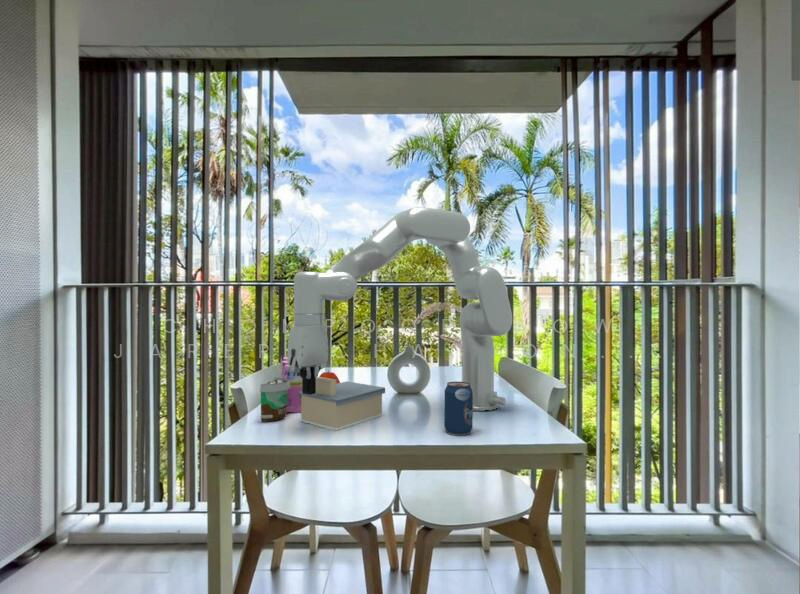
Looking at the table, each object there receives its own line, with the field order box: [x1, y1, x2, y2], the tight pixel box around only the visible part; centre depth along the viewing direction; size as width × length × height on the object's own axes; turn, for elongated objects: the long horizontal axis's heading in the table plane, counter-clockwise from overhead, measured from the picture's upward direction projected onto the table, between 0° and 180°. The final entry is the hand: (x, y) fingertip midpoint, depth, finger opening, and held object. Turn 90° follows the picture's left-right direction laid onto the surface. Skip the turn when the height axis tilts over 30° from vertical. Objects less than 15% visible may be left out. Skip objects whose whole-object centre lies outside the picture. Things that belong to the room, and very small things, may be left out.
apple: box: [318, 369, 341, 384], centre depth 139 cm, size 8×8×11 cm
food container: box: [259, 376, 291, 422], centre depth 125 cm, size 12×6×10 cm, turn 178°
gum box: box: [280, 354, 302, 413], centre depth 141 cm, size 24×8×14 cm, turn 16°
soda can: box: [443, 381, 474, 436], centre depth 113 cm, size 7×7×12 cm
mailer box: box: [300, 394, 383, 431], centre depth 124 cm, size 13×18×7 cm
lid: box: [298, 376, 386, 406], centre depth 124 cm, size 15×19×6 cm
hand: (309, 393), depth 115 cm, fingers closed
